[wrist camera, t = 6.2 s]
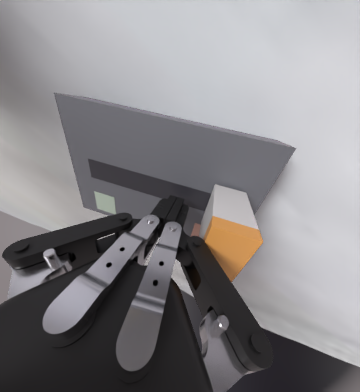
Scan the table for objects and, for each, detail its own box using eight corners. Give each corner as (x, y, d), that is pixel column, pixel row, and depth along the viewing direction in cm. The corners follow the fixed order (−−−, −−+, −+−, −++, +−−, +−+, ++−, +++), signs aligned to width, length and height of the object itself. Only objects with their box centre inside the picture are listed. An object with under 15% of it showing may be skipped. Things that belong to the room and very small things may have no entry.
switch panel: (102, 194, 24) (83, 207, 20) (88, 97, 16) (53, 92, 13) (227, 233, 21) (228, 255, 18) (277, 140, 14) (296, 148, 10)
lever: (201, 221, 16) (192, 270, 11) (214, 184, 13) (211, 225, 8) (226, 229, 15) (230, 283, 10) (246, 192, 13) (263, 242, 8)
